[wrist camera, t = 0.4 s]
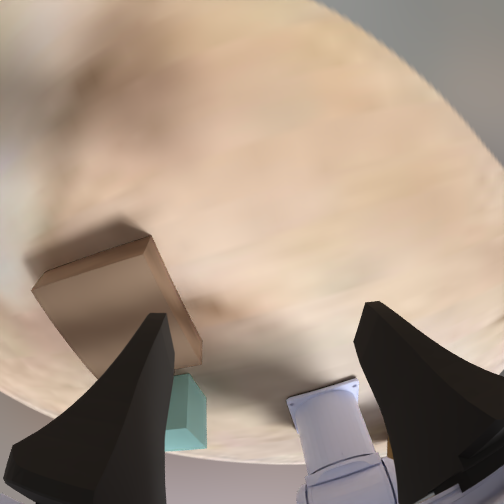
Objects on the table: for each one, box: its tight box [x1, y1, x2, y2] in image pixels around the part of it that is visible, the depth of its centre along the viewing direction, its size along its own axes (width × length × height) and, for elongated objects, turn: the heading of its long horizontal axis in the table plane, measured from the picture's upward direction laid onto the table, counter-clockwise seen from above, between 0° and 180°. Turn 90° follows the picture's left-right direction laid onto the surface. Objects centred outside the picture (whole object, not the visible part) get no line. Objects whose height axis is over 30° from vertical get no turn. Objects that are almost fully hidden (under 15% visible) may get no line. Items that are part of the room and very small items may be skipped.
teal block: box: [165, 373, 207, 451], centre depth 24 cm, size 4×4×6 cm
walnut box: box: [31, 236, 202, 379], centre depth 20 cm, size 10×10×3 cm
